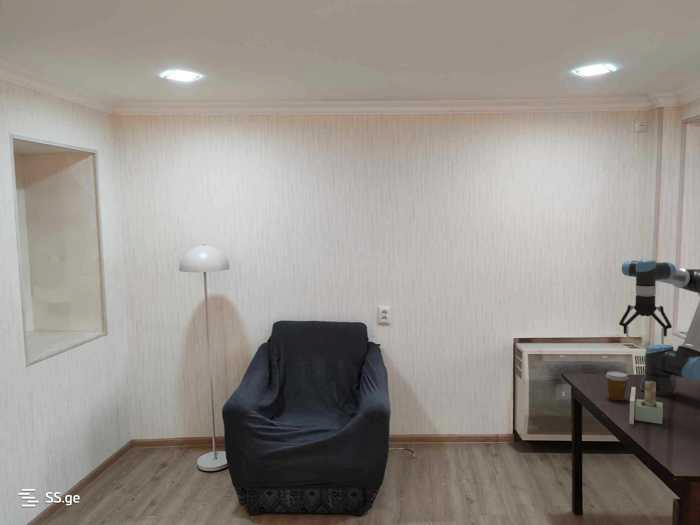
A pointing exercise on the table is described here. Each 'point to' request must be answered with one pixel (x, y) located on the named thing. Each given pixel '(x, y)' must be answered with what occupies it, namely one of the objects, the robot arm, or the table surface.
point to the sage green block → (649, 412)
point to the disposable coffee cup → (616, 384)
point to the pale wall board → (632, 405)
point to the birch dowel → (650, 393)
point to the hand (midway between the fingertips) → (644, 342)
